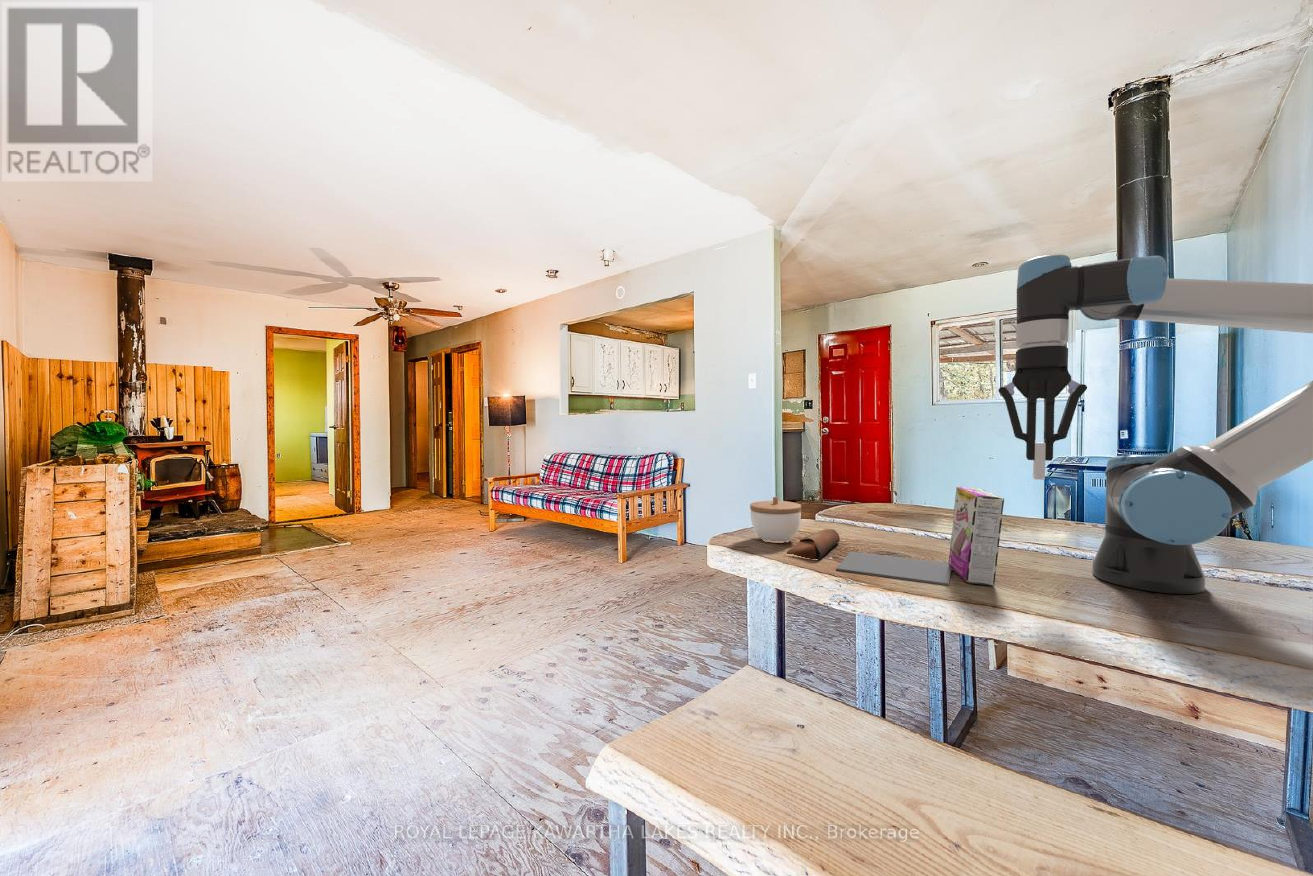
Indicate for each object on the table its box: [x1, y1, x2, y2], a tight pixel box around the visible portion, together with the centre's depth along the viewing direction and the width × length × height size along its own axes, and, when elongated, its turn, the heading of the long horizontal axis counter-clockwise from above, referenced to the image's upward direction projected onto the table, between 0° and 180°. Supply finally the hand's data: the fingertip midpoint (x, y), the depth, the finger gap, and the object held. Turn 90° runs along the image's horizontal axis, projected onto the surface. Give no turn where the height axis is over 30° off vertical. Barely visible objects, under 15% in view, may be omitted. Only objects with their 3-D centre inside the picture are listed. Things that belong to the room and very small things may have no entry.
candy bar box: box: [947, 486, 1005, 587], centre depth 100 cm, size 11×5×16 cm, turn 167°
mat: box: [835, 551, 952, 587], centre depth 107 cm, size 20×15×1 cm
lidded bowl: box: [749, 496, 802, 541], centre depth 132 cm, size 13×13×11 cm
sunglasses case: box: [785, 528, 841, 561], centre depth 122 cm, size 18×7×7 cm
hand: (1038, 478), depth 94 cm, fingers closed
